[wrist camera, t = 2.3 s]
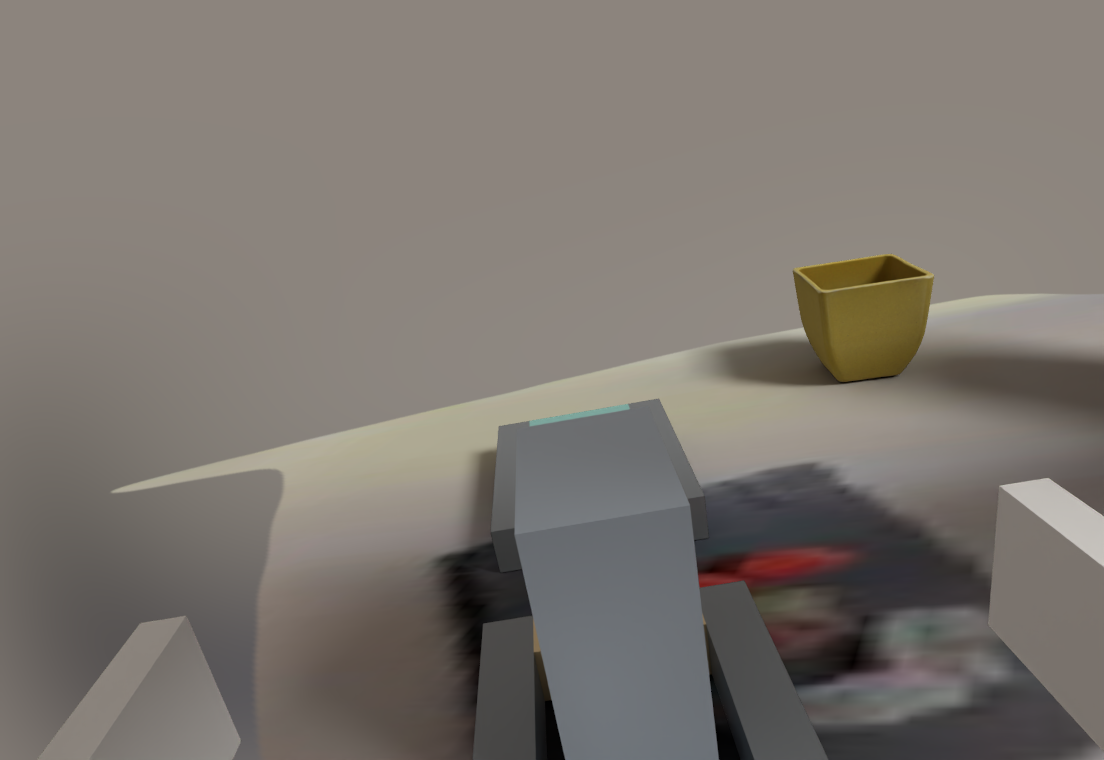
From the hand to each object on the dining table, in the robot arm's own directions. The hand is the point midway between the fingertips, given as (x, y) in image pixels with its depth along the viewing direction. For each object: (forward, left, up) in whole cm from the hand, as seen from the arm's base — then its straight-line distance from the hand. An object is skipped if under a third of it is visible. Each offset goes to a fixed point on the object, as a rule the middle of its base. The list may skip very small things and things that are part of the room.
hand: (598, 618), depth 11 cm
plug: (0, -11, -18) cm, 21 cm away
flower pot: (-25, -47, -18) cm, 57 cm away
